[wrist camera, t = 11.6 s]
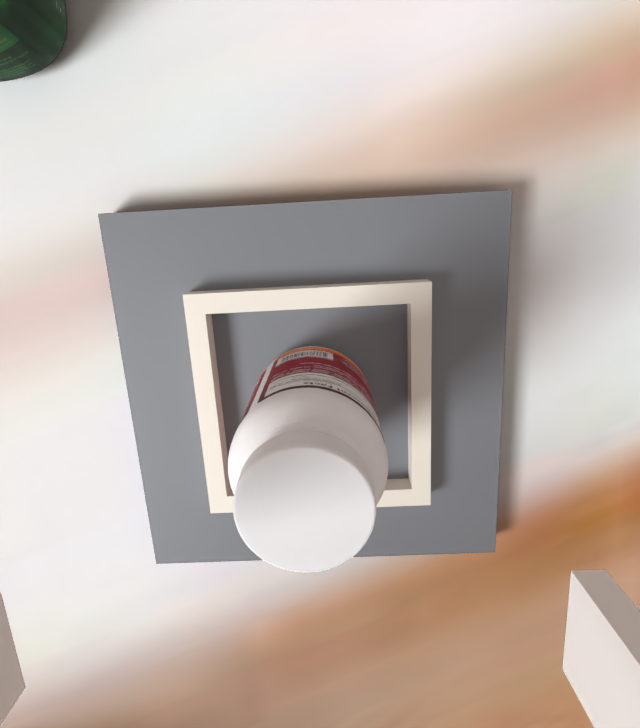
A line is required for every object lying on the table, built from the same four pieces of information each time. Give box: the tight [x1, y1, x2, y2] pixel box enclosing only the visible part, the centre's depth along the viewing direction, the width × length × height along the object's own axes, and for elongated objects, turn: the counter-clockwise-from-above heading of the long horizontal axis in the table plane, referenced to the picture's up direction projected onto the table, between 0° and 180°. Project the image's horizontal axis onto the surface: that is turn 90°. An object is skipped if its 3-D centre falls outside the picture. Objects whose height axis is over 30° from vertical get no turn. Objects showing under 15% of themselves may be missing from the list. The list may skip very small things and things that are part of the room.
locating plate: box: [98, 190, 512, 564], centre depth 27 cm, size 20×20×3 cm
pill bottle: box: [228, 346, 388, 573], centre depth 21 cm, size 6×6×11 cm
